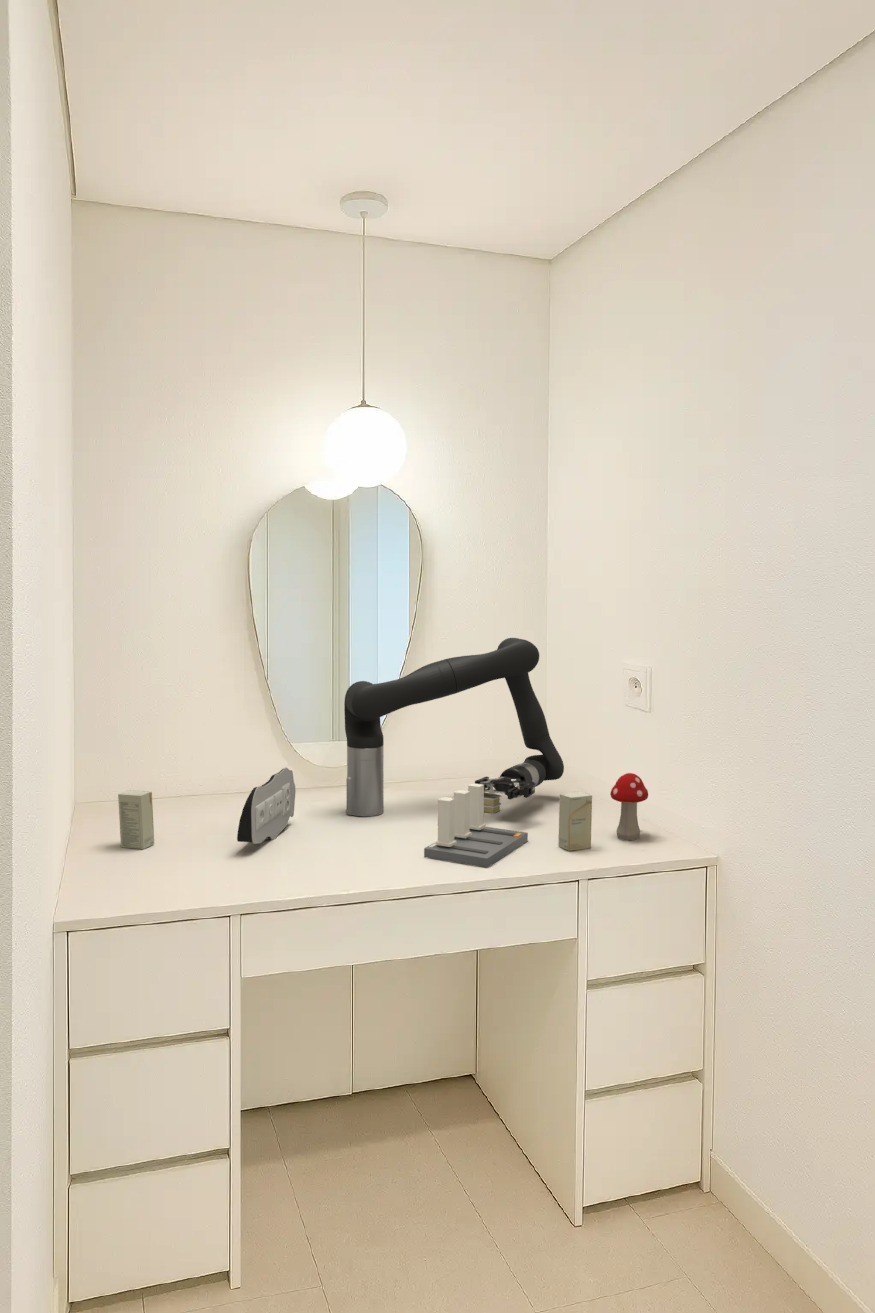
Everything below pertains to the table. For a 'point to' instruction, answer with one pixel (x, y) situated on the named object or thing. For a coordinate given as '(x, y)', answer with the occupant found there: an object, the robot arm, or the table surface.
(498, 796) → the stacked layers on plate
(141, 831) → the skincare box
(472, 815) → the post
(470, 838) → the board
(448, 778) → the table surface
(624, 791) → the decorative mushroom
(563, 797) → the skincare box
